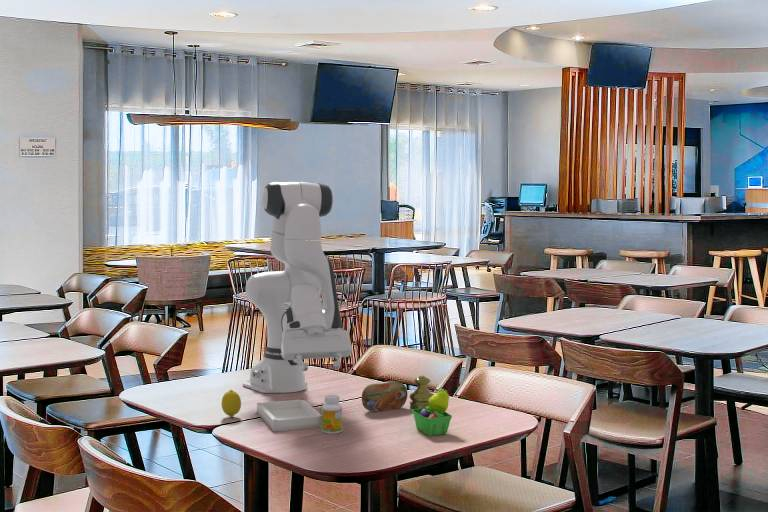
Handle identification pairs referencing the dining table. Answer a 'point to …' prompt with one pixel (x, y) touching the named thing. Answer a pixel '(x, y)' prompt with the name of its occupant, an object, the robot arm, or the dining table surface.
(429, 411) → the fruit basket
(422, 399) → the olive brown figurine
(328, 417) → the supplement bottle
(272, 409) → the tray
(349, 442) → the dining table surface
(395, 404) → the tin
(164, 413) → the dining table surface
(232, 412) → the lemon
